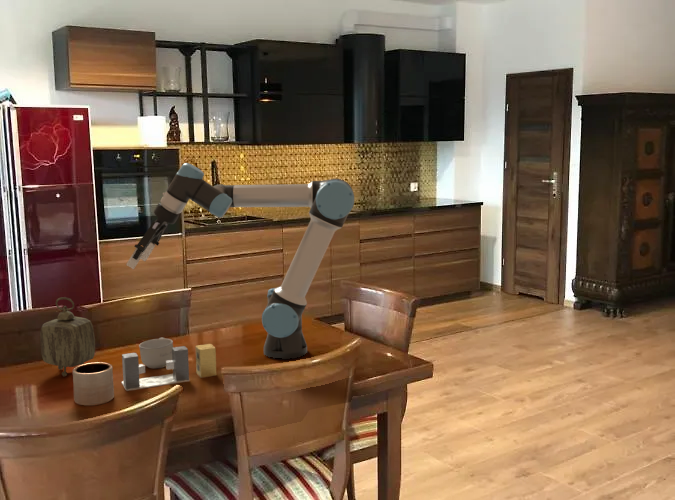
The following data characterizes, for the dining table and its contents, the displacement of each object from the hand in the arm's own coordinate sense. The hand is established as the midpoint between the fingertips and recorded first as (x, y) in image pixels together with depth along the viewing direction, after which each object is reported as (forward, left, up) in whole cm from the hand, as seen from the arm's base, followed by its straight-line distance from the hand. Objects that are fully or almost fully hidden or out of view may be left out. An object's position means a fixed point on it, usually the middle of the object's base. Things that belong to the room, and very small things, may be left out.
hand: (136, 263), depth 228 cm
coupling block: (-17, +19, -34) cm, 42 cm away
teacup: (-6, +2, -35) cm, 35 cm away
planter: (+18, +26, -35) cm, 47 cm away
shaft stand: (-1, +19, -34) cm, 39 cm away
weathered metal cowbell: (+22, -1, -34) cm, 41 cm away
